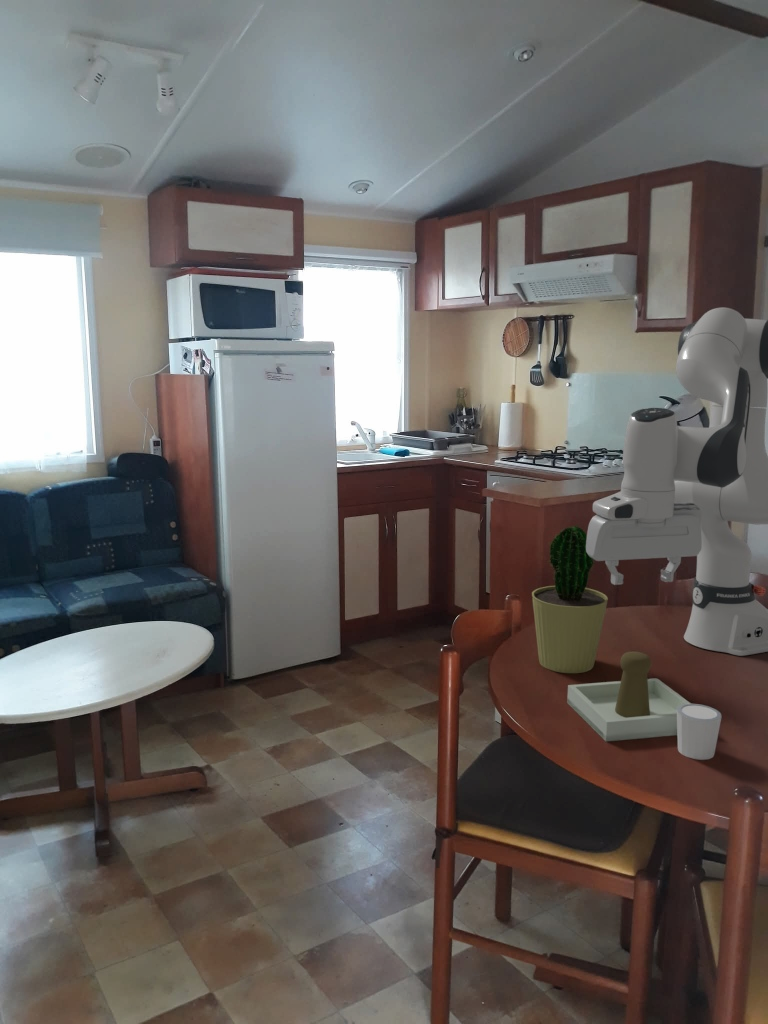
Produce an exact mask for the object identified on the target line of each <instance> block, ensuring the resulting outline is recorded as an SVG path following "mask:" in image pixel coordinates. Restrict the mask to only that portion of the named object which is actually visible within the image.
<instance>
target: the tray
mask: <svg viewBox="0 0 768 1024" xmlns="http://www.w3.org/2000/svg"><path fill="white" fill-rule="evenodd" d="M647 680H648V694H649V708H650V716H640V717H629V718H625V717H622V716H620V715H618V714H617V713H616V712H615V707H616V703H617V698H618V693H619V688H620V683H621V680H618V681H617V680H616V681H606V682H605V681H603V682H592V683H589V682H588V683H579V684H568V685H567V697H566V698H567V702H566V703H567V704H568V706H570V707H571V708H572V709H573V710H574V712H576V713H577V714H578V715H579V716H580V718H582V720H584V721H585V722H586V724H588V725H589V727H590V728H592V729H593V730H594V731H595V732H596V734H597V735H598V736H600V738H602V739H603V740H604V742H606V743H607V742H615V741H625V740H627V741H628V740H637V739H649V738H659V737H670V736H677V708H678V707H679V706H680V705H684V704H692V703H691V702H690V701H688V700H687V699H685V698H684V697H683V696H682V695H680V694H679V693H678V692H676V691H675V690H673V689H672V688H671V687H669V686H668V685H666V684H665V683H664V682H662V681H661V680H660V679H658V678H656V677H655V678H647Z"/></svg>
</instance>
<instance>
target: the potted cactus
mask: <svg viewBox="0 0 768 1024" xmlns="http://www.w3.org/2000/svg"><path fill="white" fill-rule="evenodd" d="M584 526H585V525H584ZM584 526H582V527H579V526H577V525H574V524H571V525H569V526H568V527H565V528H564V527H563V528H561V530H560V533H559V534H555V536H553V537H554V538H553V539H552V541H551V542H550V541H548V540H547V542H546V543H550V544H549V545H550V547H549V548H547V549H548V550H549V554H548V555H546V557H550V559H549V560H546V562H549V561H550V563H549V564H548V566H549V567H553V568H550V571H551V570H553V571H552V572H551V573H553V574H554V578H553V579H552V581H554V585H548V586H543V587H539V588H536V589H534V590H533V591H532V592H531V597H532V608H533V615H534V625H535V626H534V627H535V634H536V644H537V653H538V661H539V664H540V665H541V666H542V667H543V668H545V669H547V670H550V671H552V672H557V673H562V674H563V673H564V674H581V673H586V672H589V671H591V670H593V668H594V666H595V663H596V662H595V661H596V657H597V656H596V655H597V652H598V648H599V644H600V638H601V633H602V628H603V625H604V624H603V623H604V619H605V614H606V609H607V605H608V600H609V598H608V596H607V595H606V594H604V592H602V591H601V592H600V591H599V590H595V589H591V588H588V584H590V581H592V580H591V579H589V577H590V576H589V574H590V573H592V568H593V570H596V568H595V567H593V566H594V564H595V562H597V561H596V560H594V559H592V558H591V557H590V556H589V555H588V554H587V552H586V539H587V532H585V531H586V529H587V528H584ZM583 528H584V529H583ZM593 575H596V574H594V573H593ZM588 581H589V582H588Z"/></svg>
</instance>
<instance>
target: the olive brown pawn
mask: <svg viewBox="0 0 768 1024" xmlns="http://www.w3.org/2000/svg"><path fill="white" fill-rule="evenodd" d="M619 663H620V668H621V670H622V674H621V679H620V681H621V683H620V688H619V693H618V698H617V703H616V707H615V712H616V713H617V714H618V715H620V716H622V717H625V718H629V717H640V716H650V708H649V694H648V680H647V679H648V673H649V672H650V671H651V668H652V662H651V657H650V656H649V655H648V654H646V653H644V652H639V651H636V650H635V651H632V650H631V651H627V652H625V653H623V654H622V656H621V658H620V662H619Z"/></svg>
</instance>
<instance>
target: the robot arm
mask: <svg viewBox="0 0 768 1024" xmlns="http://www.w3.org/2000/svg"><path fill="white" fill-rule="evenodd" d="M675 374H676V376H677V377H676V378H677V380H678V381H679V383H680V384H681V386H682V387H683V388H684V390H685V391H687V392H688V393H689V394H690V395H692V396H694V397H696V398H698V399H702V400H706V401H709V402H711V407H710V413H709V425H708V427H700V426H698V427H697V426H681V425H678V420H677V415H676V412H674V411H673V410H671V409H669V408H664V407H649V408H641V409H637V410H636V411H634V412H632V413H630V415H629V418H628V420H627V425H626V429H625V435H624V441H623V448H622V449H623V450H622V465H623V470H624V472H623V473H624V474H623V478H622V480H621V486H620V491H618V492H616V493H614V494H611V495H609V496H605V497H603V498H601V499H598V500H597V499H596V500H595V501H593V503H592V512H593V513H594V514H596V515H593V516H592V518H591V519H590V521H589V523H588V526H587V532H586V536H587V539H586V552H587V554H588V555H589V556H590V557H591V558H592V559H593V561H596V562H603V561H605V565H606V568H607V570H608V571H609V573H610V583H611V584H612V585H614V586H617V585H623V584H624V576H625V575H624V574H623V573H621V572H618V569H617V567H618V566H619V563H620V562H619V561H627V560H645V559H647V560H648V559H664V558H667V561H668V563H667V565H666V567H665V569H661V570H660V581H662V582H664V583H672V582H674V576H675V575H674V574H675V572H676V570H677V569H678V567H679V566H680V564H681V563H682V557H685V558H686V557H696V573H695V575H696V576H695V577H694V578H693V585H692V607H691V613H690V618H689V621H688V624H687V627H686V630H685V633H684V634H683V638H684V640H685V641H686V643H688V644H690V645H693V646H695V647H698V648H700V649H705V650H709V651H714V652H721V653H727V654H730V655H734V656H740V657H744V656H749V655H755V654H761V653H765V652H768V608H766V607H765V606H764V605H763V604H762V603H761V602H759V601H758V600H757V599H756V596H755V594H757V595H758V596H759V597H760V596H761V597H763V596H764V595H765V594H766V591H767V590H766V588H765V587H763V586H761V585H759V584H756V585H754V584H753V583H752V582H750V579H751V578H750V577H751V566H752V556H753V553H752V551H751V549H750V546H749V545H748V544H747V543H746V541H745V540H743V539H742V538H740V537H739V536H737V535H736V534H735V533H734V532H733V530H731V528H730V525H729V522H733V523H742V524H748V525H754V526H755V525H758V526H759V525H768V453H767V449H766V442H765V438H766V437H765V435H766V434H765V429H766V417H767V405H768V319H767V320H766V319H758V318H744V316H743V315H742V313H740V312H739V311H737V310H735V309H733V308H730V307H716V308H712V309H710V310H708V311H707V312H705V313H704V314H703V315H702V316H701V317H700V318H699V319H698V320H697V321H695V322H691V323H689V324H688V325H687V326H685V327H684V328H683V330H681V332H680V335H679V339H678V343H677V359H676V364H675Z"/></svg>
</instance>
